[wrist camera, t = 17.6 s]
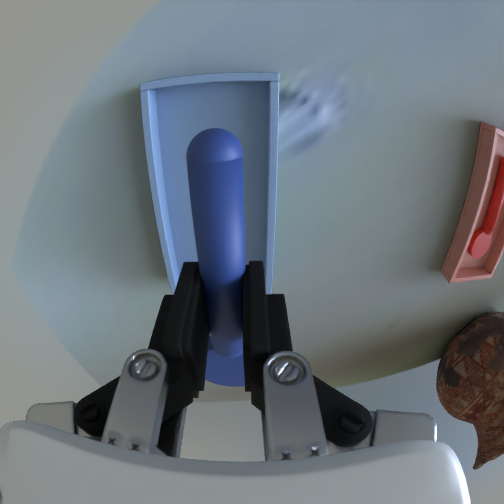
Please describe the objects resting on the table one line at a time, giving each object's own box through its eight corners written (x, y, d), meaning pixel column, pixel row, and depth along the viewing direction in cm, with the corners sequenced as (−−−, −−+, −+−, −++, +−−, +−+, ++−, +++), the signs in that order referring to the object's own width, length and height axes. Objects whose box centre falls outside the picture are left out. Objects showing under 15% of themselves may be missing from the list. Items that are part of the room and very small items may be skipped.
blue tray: (150, 83, 16) (139, 83, 14) (275, 75, 16) (279, 72, 14) (176, 278, 26) (171, 294, 24) (269, 278, 26) (271, 294, 24)
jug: (512, 317, 35) (557, 403, 14) (445, 376, 45) (476, 465, 24) (499, 276, 28) (573, 399, 7) (407, 359, 37) (447, 488, 16)
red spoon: (493, 150, 17) (503, 155, 16) (510, 158, 18) (520, 163, 16) (463, 255, 25) (470, 263, 23) (481, 254, 25) (488, 261, 23)
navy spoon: (153, 130, 7) (134, 140, 6) (282, 124, 8) (291, 131, 6) (201, 373, 15) (198, 396, 13) (269, 373, 15) (271, 396, 13)
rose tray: (480, 121, 16) (495, 127, 15) (520, 142, 17) (533, 148, 15) (439, 271, 27) (449, 283, 25) (482, 267, 27) (491, 278, 25)
